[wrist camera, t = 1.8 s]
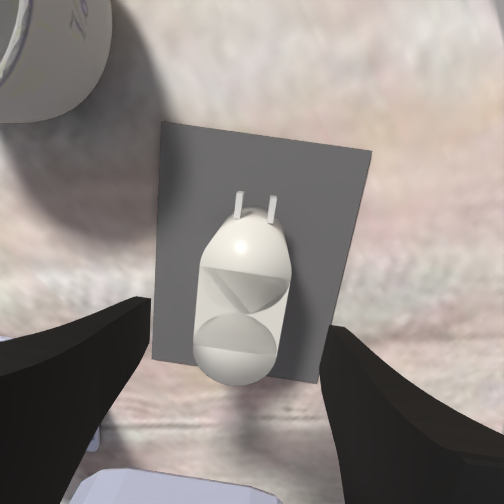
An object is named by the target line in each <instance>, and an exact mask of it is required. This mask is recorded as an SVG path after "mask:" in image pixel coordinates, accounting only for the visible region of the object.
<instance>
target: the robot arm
mask: <svg viewBox="0 0 504 504" xmlns="http://www.w3.org/2000/svg"><path fill="white" fill-rule="evenodd" d="M150 313H151V298H144V297H137V296H136V297H132V298H130V299H127V300H125V301H122V302H120V303H117V304H115V305H113V306H110V307H108V308H106V309H103V310H101V311H99V312H96V313H94V314H91V315H89V316H86V317H83V318H81V319H78V320H76V321H73V322H70V323H68V324H65V325H62V326H59V327H56V328H52V329H49V330H46V331H42V332H39V333H35V334H31V335H27V336H22V337H18V338H9V337H3V336H0V504H60V502H61V500H62V498H63V496H64V494H65V492H66V490H67V488H68V486H69V483H70V481H71V479H72V477H73V475H74V473H75V471H76V469H77V467H78V465H79V464H80V462H81V460H82V458H83V456H84V454H85V452H86V451H90V452H94V451H96V450H97V449H98V448H99V445H100V434H99V425H100V423H101V422H102V420H103V418H104V417H105V415H106V413H107V412H108V410H109V409H110V407H111V406H112V404H113V403H114V401H115V400H116V398H117V397H118V395H119V394H120V392H121V391H122V389H123V388H124V386H125V385H126V383H127V382H128V380H129V379H130V377H131V376H132V374H133V373H134V371H135V370H136V368H137V366H138V365H139V363H140V361H141V359H142V357H143V355H144V353H145V351H146V349H147V347H148V344H149V340H150ZM319 373H320V382H321V390H322V395H323V399H324V403H325V407H326V411H327V415H328V419H329V423H330V426H331V430H332V434H333V438H334V442H335V446H336V450H337V455H338V460H339V466H340V472H341V479H342V485H343V492H344V499H345V504H504V435H503V434H501V433H498V432H496V431H494V430H492V429H490V428H488V427H486V426H484V425H482V424H480V423H478V422H476V421H474V420H472V419H470V418H469V417H467V416H465V415H463V414H461V413H459V412H457V411H456V410H454V409H452V408H451V407H449V406H447V405H445V404H444V403H442V402H440V401H439V400H437V399H435V398H434V397H432V396H431V395H429V394H427V393H426V392H424V391H423V390H421V389H420V388H418V387H417V386H416V385H414V384H413V383H411V382H410V381H408V380H407V379H406V378H404V377H403V376H402V375H400V374H399V373H398V372H396V371H395V370H394V369H393V368H391V367H390V366H389V365H388V364H386V363H385V362H384V361H383V360H382V359H380V358H379V357H378V356H377V355H376V354H375V353H374V352H372V351H371V350H370V349H369V348H368V347H367V346H366V345H365V344H364V343H362V342H361V341H360V340H359V339H358V338H357V337H356V336H355V335H354V334H352V333H351V332H350V331H349V330H348V329H346V328H345V327H341V326H334V325H329V328H328V332H327V336H326V340H325V345H324V349H323V353H322V357H321V361H320V365H319ZM69 504H283V503H282V502H281V501H280V500H279V499H278V498H277V497H276V496H275V495H274V494H271V493H268V492H265V491H263V490H260V489H257V488H254V487H252V486H247V485H241V484H234V483H228V482H221V481H215V480H209V479H202V478H196V477H189V476H183V475H176V474H170V473H164V472H157V471H151V470H144V469H138V468H131V467H129V468H107V469H103V470H100V471H98V472H97V473H95V474H93V475H92V476H90V477H88V478H87V479H85V480H83V481H82V482H81V483H80V485H79V487H78V489H77V490H76V492H75V494H74V495H73V497H72V499H71V501H70V502H69Z"/></svg>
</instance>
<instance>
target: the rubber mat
mask: <svg viewBox="0 0 504 504" xmlns="http://www.w3.org/2000/svg"><path fill="white" fill-rule="evenodd" d="M371 154H372V151H369V150H362V149H355V148H348V147H341V146H334V145H326V144H319V143H312V142H305V141H298V140H291V139H283V138H276V137H269V136H262V135H255V134H248V133H240V132H233V131H226V130H219V129H212V128H205V127H197V126H190V125H183V124H176V123H169V122H161V147H160V171H159V195H158V220H157V244H156V268H155V293H154V317H153V341H152V359H154V360H161V361H168V362H175V363H181V364H188V365H195V366H198V365H197V363H196V361H195V358H194V355H193V336H194V324H195V313H196V301H197V290H198V279H199V267H200V260H201V257H202V254H203V252H204V250H205V248H206V247H207V245H208V244H209V243H210V241H211V240H212V238H213V237H214V235H215V234H216V233H217V231H218V230H219V228H220V227H221V226H222V224H223V223H224V221H225V220H226V219H227V217H228V216H229V215H230V214H231V213H233V212H234V211H235V202H236V194H237V192H238V191H244V200H243V207H247V206H257V207H262V208H264V209H267V210H268V208H269V201H270V195H272V196H276V197H277V201H276V208H275V214H274V215H275V216H276V217H277V218H278V219H279V221H280V222H281V224H282V227H283V230H284V234H285V239H286V244H287V248H288V253H289V258H290V263H291V272H292V274H291V281H290V287H289V292H288V297H287V303H286V308H285V314H284V319H283V324H282V330H281V335H280V340H279V346H278V351H277V357H276V361H275V363H274V366H273V367H272V369H271V370H270V372H269V373H268V374H267V375H266V376H269V377H276V378H282V379H289V380H296V381H303V382H309V383H317V379H318V375H319V365H320V361H321V357H322V353H323V349H324V345H325V340H326V336H327V332H328V328H329V325H331V321H332V317H333V312H334V308H335V304H336V300H337V296H338V292H339V287H340V283H341V279H342V275H343V271H344V267H345V262H346V258H347V254H348V250H349V246H350V242H351V237H352V233H353V229H354V225H355V221H356V217H357V212H358V208H359V204H360V200H361V196H362V192H363V187H364V183H365V179H366V175H367V171H368V167H369V162H370V158H371Z"/></svg>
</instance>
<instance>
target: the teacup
mask: <svg viewBox="0 0 504 504" xmlns="http://www.w3.org/2000/svg"><path fill="white" fill-rule="evenodd" d="M111 38H112V9H111V2H110V0H0V123H30V122H37V121H44V120H48V119H52V118H55V117H58V116H60V115H62V114H64V113H66V112H68V111H70V110H72V109H73V108H75V107H76V106H78V105H79V104H80V103H81V102H82V101H83V100H85V99H86V98H87V96H88V95H89V94H90V93H91V92H92V90H93V89H94V88H95V86H96V85H97V83H98V81H99V79H100V77H101V76H102V74H103V72H104V69H105V66H106V63H107V60H108V56H109V52H110V46H111Z"/></svg>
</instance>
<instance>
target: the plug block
mask: <svg viewBox="0 0 504 504" xmlns="http://www.w3.org/2000/svg"><path fill="white" fill-rule="evenodd" d="M243 200H244V191H238V192H237V194H236V202H235V211H234V212H233V213H231V214H230V215H229V216H228V217H227V219H226V220H225V221H224V223H223V224H222V226H221V227H220V228H219V230H218V231H217V233H216V234H215V235H214V237H213V238H212V240H211V241H210V243H209V244H208V245H207V247H206V248H205V250H204V252H203V254H202V257H201V260H200V267H199V279H198V290H197V301H196V313H195V324H194V336H193V355H194V358H195V361H196V363H197V365H198V366H199V368H200V369H201V370H202V371H203V372H204V373H205V374H206V375H207V376H208V377H210V378H211V379H213V380H215V381H217V382H219V383H222V384H225V385H231V386H243V385H248V384H252V383H255V382H257V381H259V380H260V379H262V378H263V377H265V376H266V375H267V374H268V373H269V372H270V370H271V369H272V367H273V366H274V363H275V361H276V357H277V351H278V346H279V340H280V335H281V330H282V324H283V319H284V314H285V308H286V303H287V297H288V292H289V287H290V281H291V274H292V272H291V263H290V258H289V253H288V248H287V244H286V239H285V234H284V230H283V227H282V224H281V222H280V221H279V219H278V218H277V217H276V216H275V215H274V214H275V208H276V201H277V197H276V196H272V195H270V201H269V208H268V210H267V209H264V208H262V207H257V206H247V207H243Z"/></svg>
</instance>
